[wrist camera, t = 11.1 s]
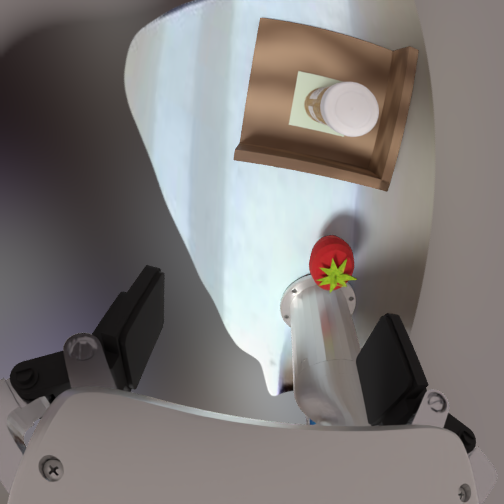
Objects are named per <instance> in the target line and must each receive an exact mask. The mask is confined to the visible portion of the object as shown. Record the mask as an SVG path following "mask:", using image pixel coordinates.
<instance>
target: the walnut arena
mask: <svg viewBox="0 0 504 504" xmlns="http://www.w3.org/2000/svg"><path fill="white" fill-rule="evenodd" d="M418 51H419V50H417V49H415V48H412V47H410V46H409V47H405V48H402V49H399V50H395V51H391V50H388V49H386V48H383V47H380V46H378V45H375V44H372V43H369V42H366V41H363V40H360V39H357V38H354V37H350V36H347V35H344V34H340V33H336V32H333V31H329V30H325V29H321V28H316V27H312V26H307V25H302V24H297V23H292V22H286V21H280V20H273V19H266V18H260V22H259V28H258V33H257V39H256V45H255V50H254V56H253V62H252V68H251V74H250V80H249V86H248V92H247V99H246V105H245V112H244V118H243V125H242V131H241V138H240V143H239V145H238V146H237V147H236V149H235V153H234V160H237V161H243V162H250V163H256V164H263V165H269V166H274V167H280V168H286V169H291V170H296V171H301V172H306V173H311V174H316V175H321V176H326V177H330V178H335V179H339V180H343V181H348V182H352V183H356V184H360V185H364V186H368V187H372V188H376V189H380V190H383V191H388V188H389V185H390V181H391V178H392V174H393V171H394V167H395V164H396V160H397V156H398V153H399V149H400V145H401V141H402V137H403V133H404V128H405V124H406V119H407V115H408V110H409V105H410V100H411V95H412V90H413V84H414V78H415V72H416V65H417V59H418ZM298 71H301V72H305V73H310V74H314V75H319V76H323V77H327V78H331V79H335V80H339V81H342V82H356V83H359V84H361V85H363V86H365V87H366V88H368V89H369V90H370V91H371V92H372V93H373V95H374V96H375V98H376V100H377V103H378V107H379V117H378V120H377V122H376V124H375V126H374V127H373V129H372V130H371V131H369V132H368V133H366V134H364V135H362V136H358V137H349V136H345V135H344V137H342V136H338V135H334V134H330V133H326V132H321V131H317V130H312V129H308V128H303V127H298V126H293V125H289V120H290V115H291V109H292V103H293V98H294V92H295V87H296V81H297V76H298Z"/></svg>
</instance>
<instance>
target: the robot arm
mask: <svg viewBox="0 0 504 504" xmlns="http://www.w3.org/2000/svg"><path fill="white" fill-rule="evenodd" d="M346 285H347V287H341V288H339V289H336V290H332V292H331V293H330V290H325V289H322V288H320V287H319V286H318V285H317V284H316V283H315V281H314V279H313V278H312V276H311V275H308V276H305V277H302V278H300V279H298V280H297V281H295V282H294V283H292V284H291V285H290V286H289V287H288V288H287V289H286V291H285V292H284V294H283V296H282V298H281V303H280V311H281V316H282V318H283V320H284V321H285V323H286V324H287V325H288V326H289V327H291V339H292V360H293V384H294V397H295V400H296V402H297V404H298V406H299V408H300V409H301V410H302V412H303V413H304V414H305V415H306V416H307V417H309V418H310V419H311V420H312V421H314V422H315V423H316V424H314V425H305V424H292V423H282V422H273V421H265V420H257V419H250V418H244V417H236V416H231V415H225V414H220V413H215V412H210V411H205V410H201V409H196V408H192V407H187V406H183V405H179V404H175V403H171V402H167V401H163V400H159V399H155V398H152V397H148V396H144V395H140V394H136V393H132V392H131V389H136V388H137V385H138V383H139V381H140V379H141V376H142V374H143V371H144V369H145V367H146V364H147V362H148V359H149V357H150V355H151V353H152V350H153V348H154V346H155V344H156V341H157V339H158V337H159V335H160V332H161V330H162V328H163V323H164V273H162V272H161V270H160V268H157V267H152V266H148V265H146V267H145V268H144V269H143V271H142V272H141V273H140V275H139V276H138V278H137V279H136V281H135V282H134V283H133V285H132V286H131V288H130V289H129V290H128V292H121V293H120V294H119V295H118V297H117V298H116V300H115V301H114V302H113V304H112V305H111V307H110V308H109V310H108V311H107V313H106V314H105V315H104V317H103V318H102V320H101V321H100V323H99V324H98V326H97V327H96V329H95V331H94V332H93V333H92V334H89V333H78V334H75V335H73V336H71V337H69V338H68V339H67V340H66V342H65V344H64V346H63V351H60V352H57V353H53V354H49V355H46V356H42V357H39V358H35V359H31V360H27V361H23V362H21V363H18V364H17V365H16V366H15V367H14V368H13V369H12V371H11V374H10V378H9V379H7V380H5V379H4V378H3V379H1V380H0V481H1V482H2V484H3V486H4V487H5V489H6V490H7V492H8V493H9V495H10V496H9V499H8V503H7V504H482V503H483V502H484V500H485V499H486V497H487V496H488V494H489V493H490V491H491V490H492V488H493V487H494V485H495V483H496V481H497V471H496V469H495V468H494V466H493V465H492V464H491V463H490V461H489V460H488V458H487V457H486V456H485V455H484V453H483V452H482V451H481V450H480V448H479V447H476V448H475V444H476V438H475V436H474V434H473V432H472V431H471V430H470V429H469V428H468V427H466V426H465V425H464V424H463V423H461V422H460V421H458V420H457V419H456V418H455V417H453V416H452V415H451V414H449V413H448V412H449V401H448V399H447V398H446V396H445V395H444V394H443V393H442V392H440V391H438V390H436V389H430V390H428V391H427V390H426V387H427V386H428V382H427V380H426V377H425V375H424V372H423V370H422V367H421V365H420V362H419V360H418V357H417V355H416V352H415V350H414V348H413V345H412V343H411V341H410V338H409V336H408V334H407V332H406V329H405V327H404V325H403V323H402V321H401V319H400V317H399V315H395V314H389V313H387V314H385V315H384V316H382V317H381V318H380V320H379V321H378V323H377V325H376V326H375V328H374V330H373V332H372V333H371V335H370V336H369V338H368V340H367V341H366V343H365V345H364V346H363V348H362V349H361V348H360V345H359V341H358V337H357V334H356V330H355V327H354V323H353V320H352V316H351V315H352V314H353V312H354V309H355V306H356V297H355V293H354V290H353V288H352V287H351V285H350V284H349V283H348V282H347V283H346ZM329 293H330V294H329ZM38 419H41V420H40V421H39V423H38V425H37V427H36V429H35V431H34V433H33V435H32V437H31V439H30V441H29V443H28V445H27V448H26V445H25V444H24V434H25V432H26V431H27V430H28V429H29V428H30V427H32V426H33V425H34V423H33V422H35V421H36V420H38Z"/></svg>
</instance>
